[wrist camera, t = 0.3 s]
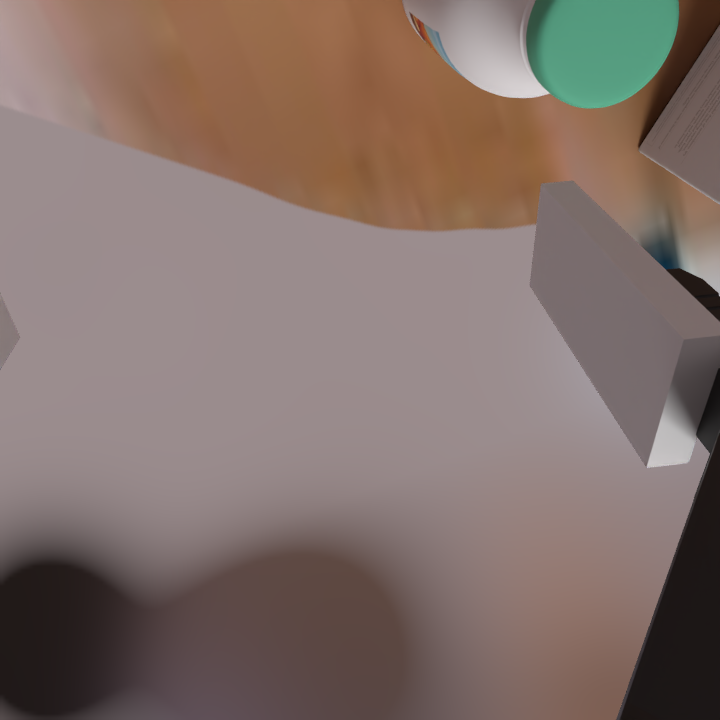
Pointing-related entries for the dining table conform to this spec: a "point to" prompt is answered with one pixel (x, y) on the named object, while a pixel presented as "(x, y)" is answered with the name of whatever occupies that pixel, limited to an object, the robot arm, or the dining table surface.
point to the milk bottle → (551, 44)
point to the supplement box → (692, 126)
